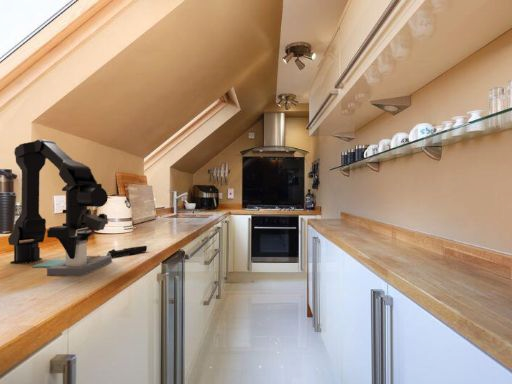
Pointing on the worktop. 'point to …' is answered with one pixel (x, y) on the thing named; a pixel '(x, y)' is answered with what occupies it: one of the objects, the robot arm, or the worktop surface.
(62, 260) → the teal mat
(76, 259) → the beige grey rectangular block
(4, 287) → the worktop surface
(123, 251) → the electric trimmer
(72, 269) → the grey panel
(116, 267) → the worktop surface
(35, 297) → the worktop surface
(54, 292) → the worktop surface
